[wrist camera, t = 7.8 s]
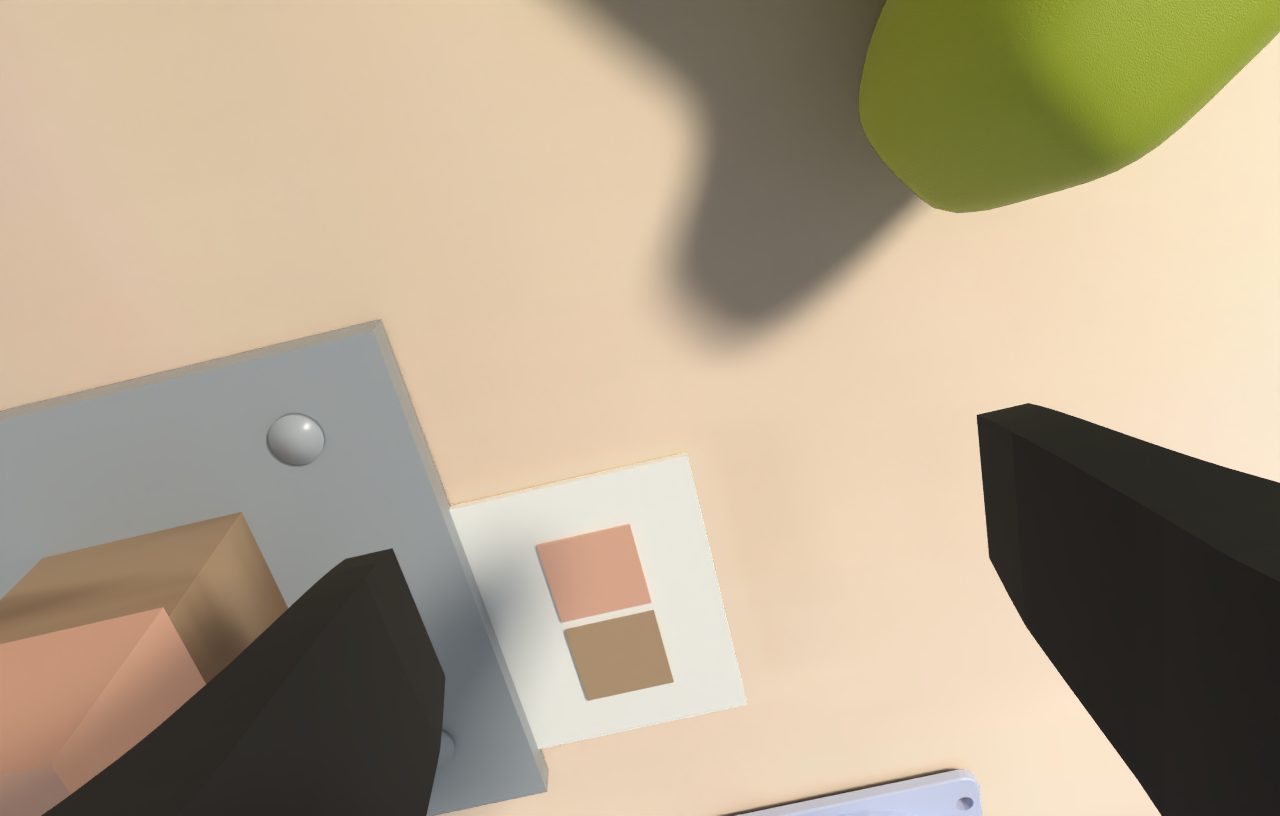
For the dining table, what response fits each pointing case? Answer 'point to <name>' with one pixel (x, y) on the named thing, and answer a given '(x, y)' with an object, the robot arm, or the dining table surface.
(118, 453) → the build plate
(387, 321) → the dining table surface
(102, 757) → the terracotta block
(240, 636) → the walnut block
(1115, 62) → the dumbbell
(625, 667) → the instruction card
